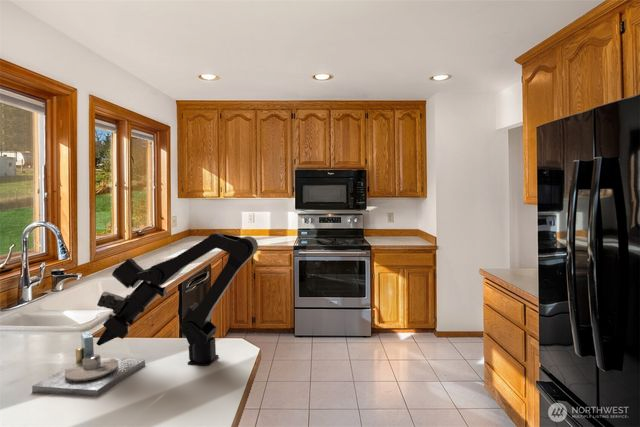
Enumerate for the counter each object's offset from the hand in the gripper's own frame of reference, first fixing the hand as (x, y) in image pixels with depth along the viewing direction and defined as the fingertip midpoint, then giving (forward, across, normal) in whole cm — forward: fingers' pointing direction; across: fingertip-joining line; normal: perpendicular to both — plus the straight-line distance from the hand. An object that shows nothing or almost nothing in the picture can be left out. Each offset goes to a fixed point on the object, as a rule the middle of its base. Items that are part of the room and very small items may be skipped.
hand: (98, 344), depth 109 cm
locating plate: (+5, +6, +4) cm, 9 cm away
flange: (+4, +5, +3) cm, 7 cm away
